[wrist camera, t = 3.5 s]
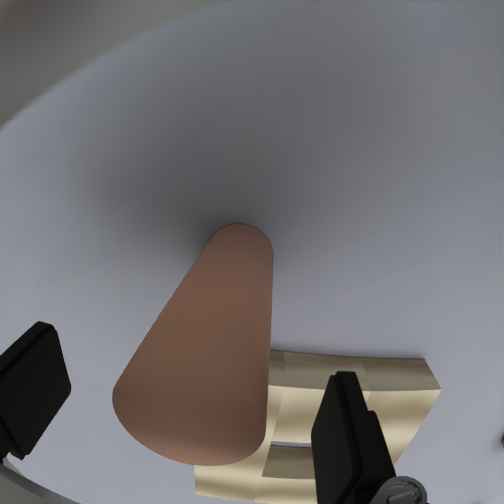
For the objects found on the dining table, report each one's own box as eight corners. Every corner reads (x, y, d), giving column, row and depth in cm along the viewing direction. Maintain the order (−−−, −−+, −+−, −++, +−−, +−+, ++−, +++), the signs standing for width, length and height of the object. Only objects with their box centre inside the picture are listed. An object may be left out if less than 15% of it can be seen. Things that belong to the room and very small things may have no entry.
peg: (208, 220, 20) (100, 347, 7) (277, 228, 20) (278, 379, 7) (204, 282, 22) (124, 447, 9) (268, 291, 22) (256, 474, 8)
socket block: (204, 340, 23) (192, 374, 20) (424, 359, 23) (441, 389, 19) (202, 466, 29) (195, 494, 25) (359, 475, 28) (363, 502, 25)
